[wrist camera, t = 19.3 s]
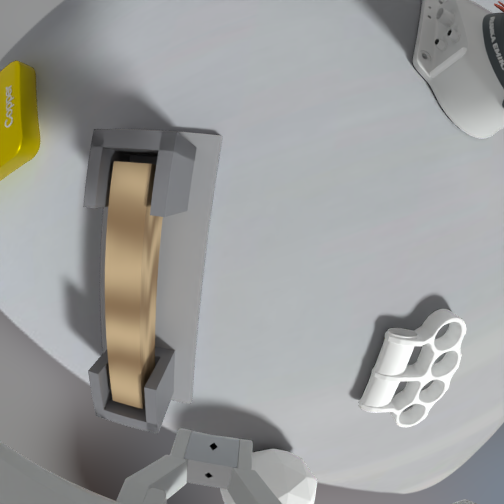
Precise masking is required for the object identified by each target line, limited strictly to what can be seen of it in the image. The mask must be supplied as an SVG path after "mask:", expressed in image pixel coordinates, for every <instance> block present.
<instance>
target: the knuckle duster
mask: <svg viewBox="0 0 504 504" xmlns="http://www.w3.org/2000/svg"><path fill="white" fill-rule="evenodd" d="M447 323H450V324H449V327H448V330H447V331H446V333H445V334H444V335H443V336H442V337H440V338H437V339H435V336H436V334H437V332H438V331H439V329H440V328H441V327H442V326H444V325H445V324H447ZM465 334H466V325H465V322H464V321H463V319H462V318H460V317H459V316H457V315H456V314H454V313H453V312H451V311H450V310H448V309H439V310H437V311H435V312H433V313H432V314H430V315H429V316H428V317H427V319H426V320H425V321H424V323H423V324H422V326H421V327H419V328H417V329H416V330H414V331H412V330H408V329H403V328H390V329H388V331H387V332H386V333H385V336H384V337H385V339H384V342H383V345H382V348H381V351H380V353H379V356H378V359H377V361H376V364H375V366H374V368H372V371H371V372H372V374H371V377H370V379H369V381H368V384H367V386H366V389H365V391H364V393H363V396H362V398H361V399H360V400H359V402H358V403H359V405H358V406H359V408H360V409H362V410H364V411H367V412H373V413H378V412H390V413H391V415H392V417H393V419H394V420H395V422H396V424H397V425H398V426H400V427H410V426H413V425H416V424H418V423H419V422H421V421H422V420H423V419H424V418H426V417H427V414H428V412H429V410H430V408H431V407H432V406H433V405H434V403H435V402H436V401H438V400H439V399H440V398H441V397H442V396H443V395H444V393H445V392H446V391H447V389H448V388H449V384H450V380H451V378H452V376H453V374H454V372H455V371H456V370H457V369H458V367H459V363H460V359H461V355H462V354H463V353H460V347H461V342H462V340H463V337H464V335H465ZM414 346H422V349H421V352H420V354H419V357H418V359H417V361H416V362H415V363H414V364H413V365H407V364H408V362H409V359H410V357H411V354H412V352H413V349H414ZM443 353H446V354H445V356H444V357H443V359H442V360H441V361H440V362H438V363H436V364H434V365H433V363H434V361H435V360H436V359H437V358H438V357H439V356H440V355H441V354H443ZM432 380H434V381H433V383H432V384H431V385H430V386H429V387H428V388H427V389H425V390H423V391H421V389H422V388H423V387H424V386H425V385H426V384H427V383H428V382H430V381H432ZM400 381H408V382H407V384H406V386H405V388H404V390H403V391H401V392H399V393H398V394H396V395H395V396H394V393H395V391H396V389H397V387H398V385H399V383H400ZM393 396H394V397H393ZM413 404H414V406H413V407H412V408H411V409H409V410H408V411H405V412H402V411H403V410H404V409H406V408H407V407H409V406H410V405H413Z"/></svg>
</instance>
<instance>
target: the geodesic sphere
mask: <svg viewBox="0 0 504 504" xmlns="http://www.w3.org/2000/svg"><path fill="white" fill-rule="evenodd" d="M252 470H255V471H256V472H257V473H258V475H259V476H260V477H261V479H262V480H263V481H264V482H265V484H266V485H267V486H268V487H269V489H270V490H271V491H272V492H273V494H274V495H275V496H276V497H277V498H278V500H279V501H280V502H281V503H282V504H314V500H315V494H316V486H317V478H316V477H315V476H314V474H313V473H312V472H311V470H310V469H309V468H308V466H307V465H306V464H305V462H304V461H303V459H302V458H300V457H298V456H296V455H294V454H292V453H290V452H289V451H284V450H278V449H268V450H263V451H257V452H252ZM220 492H221V495H222V497H223V500H224V503H225V504H235V502H234V500H233V499H232V497H231V495H230V494H229V492H228V490H227V489H221V490H220Z"/></svg>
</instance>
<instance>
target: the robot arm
mask: <svg viewBox="0 0 504 504" xmlns="http://www.w3.org/2000/svg"><path fill="white" fill-rule="evenodd" d="M498 2H499V3H500V4H501V5H502V6H503V7H504V4H502V3H501V2H500V1H498ZM494 5H495V6H496V7H497V8H499V9H500V10H501V11H503V12H504V8H503V7H502V6H500V5H497V4H494ZM422 56H423V57H424V58H425V59H424V58H423V57H422ZM413 65H414V67H415V68H416V70H417V71H418V72H419V73H420V74H421V76H422V77H423V78H424V79H425V80H426V81H427V82H428V83H429V85H430V86H431V88H432V90H433V92H434V94H435V96H436V98H437V100H438V102H439V104H440V105H441V107H442V109H443V110H444V111H445V113H446V114H447V116H448V117H449V118H450V119H451V120H452V121H453V123H454V124H455V125H456V126H458V127H459V128H460V129H461V130H462V131H464V132H465V133H467V134H468V135H470V136H473V137H475V138H480V139H484V138H489V137H491V136H492V135H494V134H495V133H496V132H498V131H499V130H501V129H503V128H504V13H492V12H490V11H489V10H487V9H485V8H484V7H482V6H480V5H479V4H477V3H475V2H473V1H471V0H422V7H421V15H420V21H419V27H418V33H417V39H416V45H415V50H414V55H413ZM252 449H253V442H252V440H245V439H239V438H231V437H224V436H218V435H211V434H206V433H201V432H197V431H192V430H188V429H183V428H179V429H178V432H177V435H176V438H175V441H174V444H173V447H172V450H171V453H170V455H165V456H163V457H162V458H160V459H159V460H157V461H155V462H154V463H152V464H150V465H149V466H147V467H145V468H144V469H142V470H140V471H138V472H137V473H135V474H133V475H132V476H130V477H128V478H126V479H125V482H124V484H123V486H122V489H121V491H120V493H119V496H118V498H117V500H116V501H114V500H112V499H109V498H106V497H104V496H101V495H99V494H96V493H94V492H92V491H89V490H87V489H84V488H82V487H80V486H78V485H76V484H74V483H72V482H70V481H67V480H65V479H63V478H61V477H59V476H57V475H56V474H54V473H52V472H50V471H48V470H46V469H44V468H43V467H41V466H39V465H37V464H35V463H34V462H32V461H30V460H29V459H27V458H26V457H24V456H22V455H21V454H19V453H18V452H16V451H15V450H13V449H12V448H10V447H9V446H7V445H6V444H4V443H3V442H1V441H0V504H167V499H168V498H169V497H170V496H172V495H173V494H174V493H175V492H176V491H178V490H179V489H180V488H181V487H183V486H184V485H185V484H186V482H188V483H193V484H199V485H205V486H211V487H216V488H221V489H227V490H228V492H229V494H230V495H231V497H232V499H233V500H234V502H235V504H282V503H281V502H280V501H279V500H278V498H277V497H276V496H275V495H274V494H273V492H272V491H271V490H270V489H269V487H268V486H267V485H266V484H265V482H264V481H263V480H262V479H261V477H260V476H259V475H258V473H257V472H256V471H255V470H252ZM453 504H476V503H474V502H472V501H469V500H462V501H458V502H456V503H453Z"/></svg>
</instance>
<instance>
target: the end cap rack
mask: <svg viewBox="0 0 504 504" xmlns="http://www.w3.org/2000/svg"><path fill="white" fill-rule="evenodd" d="M221 144H222V136H221V135H211V134H202V133H191V132H178V131H163V130H143V129H94V132H93V137H92V143H91V149H90V155H89V162H88V169H87V177H86V186H85V195H84V206H83V207H88V208H101V207H103V218H102V232H101V253H100V314H101V334H102V348H103V354H102V356H101V357H100V358H99V359H98V360H97V361H96V362H95V364H94V365H93V366H92V367H91V368H90V369H89V371H88V373H89V380H90V386H91V392H92V398H93V403H94V408H95V413H96V416H98V417H101V418H104V419H107V420H110V421H113V422H116V423H119V424H123V425H126V426H129V427H133V428H137V429H140V430H144V431H148V432H151V433H156V434H158V433H159V430H160V427H161V425H162V422H163V419H164V417H165V414H166V411H167V409H168V406H169V403H170V401H171V400H173V401H177V402H182V403H188V404H191V402H192V395H193V380H194V367H195V354H196V342H197V331H198V320H199V310H200V300H201V291H202V282H203V273H204V264H205V256H206V248H207V240H208V232H209V224H210V217H211V209H212V202H213V195H214V188H215V182H216V175H217V169H218V162H219V156H220V150H221ZM114 161H118V162H134V163H147V164H154V165H156V171H155V178H154V185H153V193H152V201H151V209H150V215H152V216H159V217H163V220H162V229H161V240H160V251H159V264H158V278H157V296H156V321H155V368H154V370H153V372H152V374H151V376H150V378H149V379H148V381H147V383H146V385H145V387H144V392H145V405H144V407H143V409H141V408H137V407H134V406H130V405H126V404H123V403H120V402H116V401H113V398H112V391H111V383H110V374H109V364H108V353H107V339H106V320H105V251H106V232H107V217H108V206H109V196H110V187H111V178H112V171H113V164H114Z"/></svg>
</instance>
